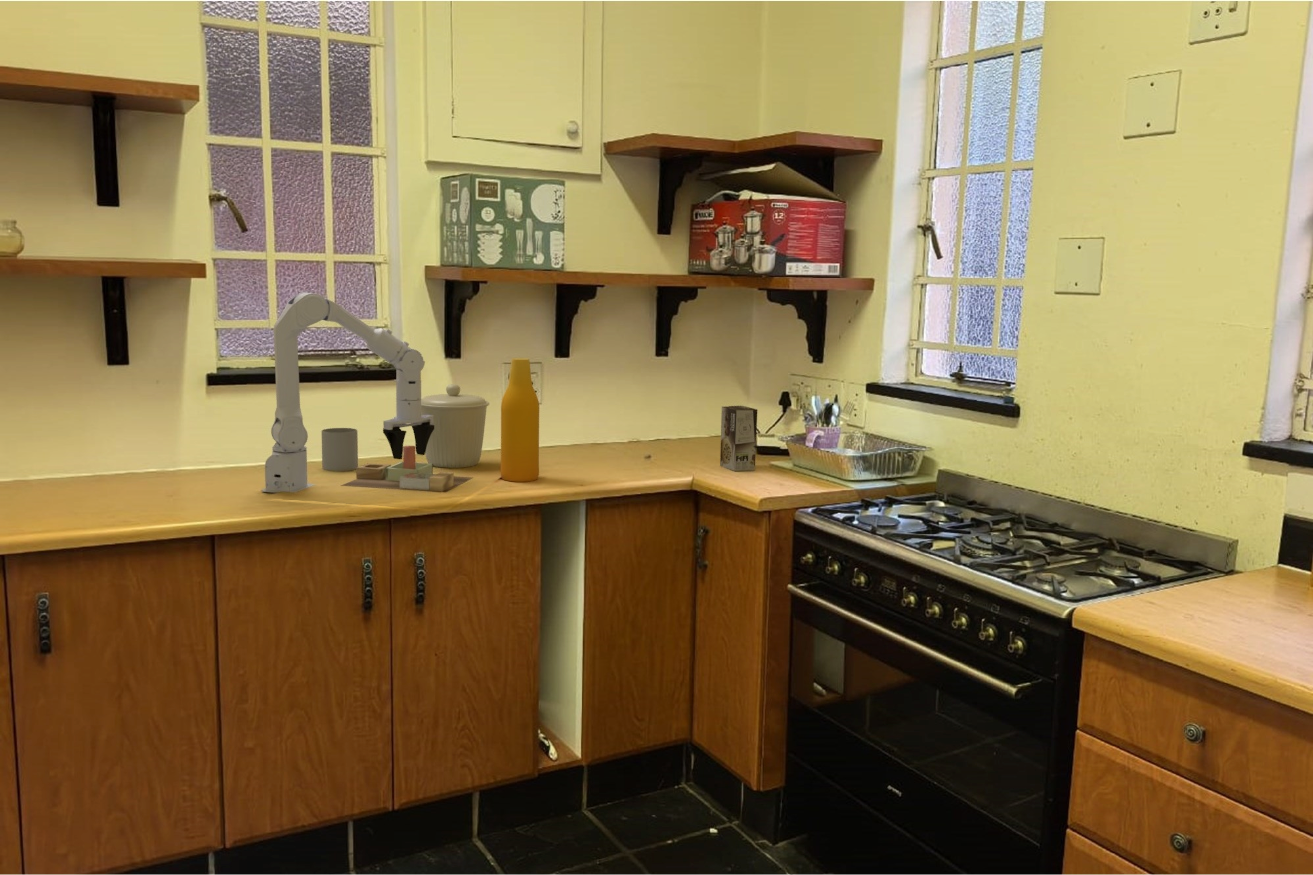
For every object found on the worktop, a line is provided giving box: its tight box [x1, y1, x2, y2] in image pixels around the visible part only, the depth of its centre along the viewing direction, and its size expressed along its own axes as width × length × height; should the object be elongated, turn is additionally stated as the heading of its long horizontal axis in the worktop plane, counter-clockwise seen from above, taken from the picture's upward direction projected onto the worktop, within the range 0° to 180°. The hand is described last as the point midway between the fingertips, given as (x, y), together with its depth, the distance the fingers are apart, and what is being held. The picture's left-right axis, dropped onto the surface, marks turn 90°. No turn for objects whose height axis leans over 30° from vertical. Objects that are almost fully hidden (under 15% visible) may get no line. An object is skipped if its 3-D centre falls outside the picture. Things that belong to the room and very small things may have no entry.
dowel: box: [402, 445, 416, 469], centre depth 247 cm, size 3×3×7 cm
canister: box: [421, 383, 490, 469], centre depth 266 cm, size 18×18×21 cm
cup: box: [321, 427, 359, 472], centre depth 257 cm, size 8×8×10 cm
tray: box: [385, 461, 434, 481], centre depth 247 cm, size 9×8×3 cm
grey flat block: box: [400, 473, 437, 490], centre depth 237 cm, size 6×7×2 cm
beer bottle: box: [500, 357, 540, 483], centre depth 251 cm, size 9×9×29 cm
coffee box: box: [719, 405, 759, 472], centre depth 274 cm, size 9×6×16 cm
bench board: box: [340, 463, 474, 493], centre depth 243 cm, size 18×26×4 cm
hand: (409, 456), depth 246 cm, fingers open, 7 cm apart
